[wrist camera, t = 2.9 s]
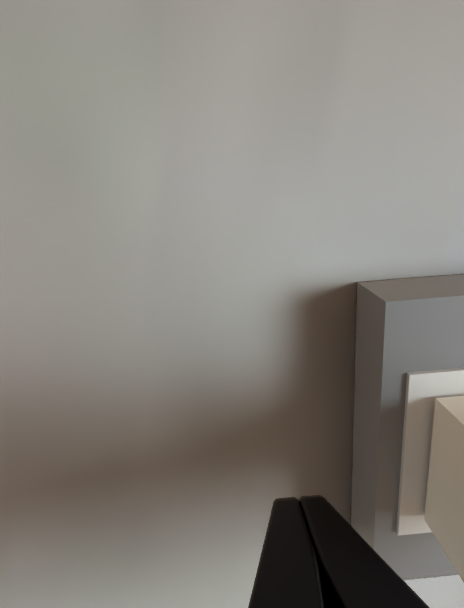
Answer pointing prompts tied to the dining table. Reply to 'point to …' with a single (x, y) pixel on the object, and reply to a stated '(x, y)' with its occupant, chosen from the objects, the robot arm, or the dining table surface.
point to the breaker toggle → (447, 479)
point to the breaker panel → (403, 412)
